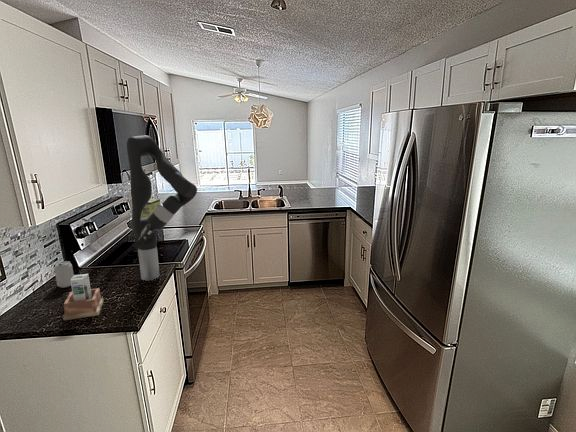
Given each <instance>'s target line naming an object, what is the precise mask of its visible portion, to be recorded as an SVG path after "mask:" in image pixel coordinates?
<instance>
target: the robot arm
mask: <svg viewBox="0 0 576 432" xmlns="http://www.w3.org/2000/svg"><path fill="white" fill-rule="evenodd" d="M126 153H127V158H128V164H129V174H130V175H129V176H130V194H131V196H130V197H131V210H132V212H131V231H132V234H133V236H135V237H136V238H135V242H134V244H132V247H133V248H135V249H137V252H138V262H139V270H140V271H139V272H140V279H141V280H142V281H144V280H145V281H144V282H151V281H155V280H157V279H159V278H160V277H159V276H160V275H161V274H160V265H159V263H160V262H159V256H158V255H159V254H158V247H157V246H158V245H157V243H158V242H157V241H158V240H157V230H158V231H161V230H162V229H163V228H165V226H167V224H168V223H169V222H170V221H171V220H172V218H173V217H174V216H175V215H176V213H177V212H179V210H180V209H181V208H182V207H183V206H185V205H187V204H188V203H189V202H191V200H193V199H194V198H195V197H196V195H197V193H198V187H197V186H196V185H195V184H194V183H192V182H191V181H189V180H188V179H187V178H186V177H184V176H183V174H182V173H181V172H180V170H179V169H178V168H177V167H176V166H174V164H172V163H171V162H170V160H169V159H168V158H167V157H166V155H165V154H164V152H163V151H162V150H161V148H160V147H159V146H158V144H157V143H156V142H155V140H154V139H153V138H152V137H151V136H149V135H145V134H144V135H143V134H142V135H134V136H130V137H128V138H127V140H126ZM146 156H150V157H151V158H153V159H154V160H155V163H156V167H157V169H156V170H157V172H158V173H159V175H160V176H161V177H162V178H163V179H164V180H165V181H166V182H167V183H168V184H169V185H170V186H171V187H172V189H173V190H174V191H175V192H176V194H174V195H169V196H168V197H167V198H166V199H165V200H164V201H163V202H162V203H160V206H159V207H158V208H157V209H156V210H155V211H154V212H153V213H152V214H151V215H150V216H149V217H144V218H141V213H142V211H143V209H144V207H145V206H146V204H147V203H148V201H149V200H150V199H151V198H152V194H153V193H152V182H151V179H150V177H149V176H148V175H147V173H146V172H145V169H144V168H143V166H142V157H146ZM158 277H159V278H158ZM156 278H157V279H156ZM154 279H155V280H154ZM150 280H151V281H150Z"/></svg>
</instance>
